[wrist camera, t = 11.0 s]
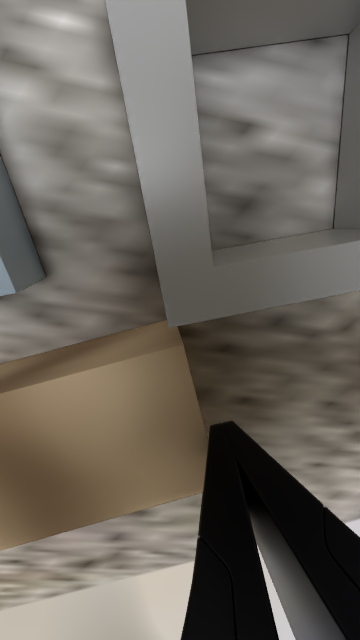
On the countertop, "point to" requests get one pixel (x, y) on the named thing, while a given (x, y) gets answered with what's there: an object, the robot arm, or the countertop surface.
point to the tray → (15, 243)
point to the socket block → (186, 158)
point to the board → (97, 433)
